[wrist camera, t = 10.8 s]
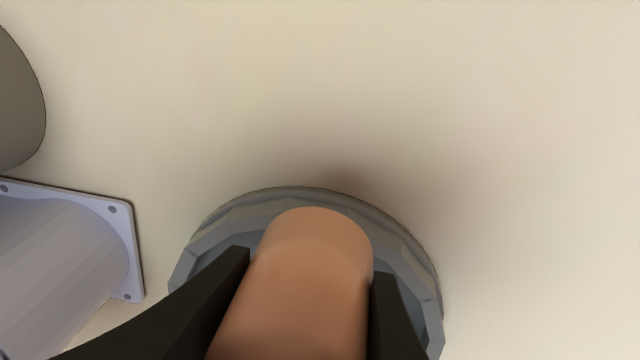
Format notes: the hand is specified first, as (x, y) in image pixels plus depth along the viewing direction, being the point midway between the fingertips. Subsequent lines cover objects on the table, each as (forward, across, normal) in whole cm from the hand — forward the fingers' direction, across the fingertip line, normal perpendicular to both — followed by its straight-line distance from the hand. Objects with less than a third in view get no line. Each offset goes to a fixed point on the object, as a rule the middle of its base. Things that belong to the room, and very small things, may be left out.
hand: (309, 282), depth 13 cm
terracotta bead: (+1, 0, 0) cm, 1 cm away
